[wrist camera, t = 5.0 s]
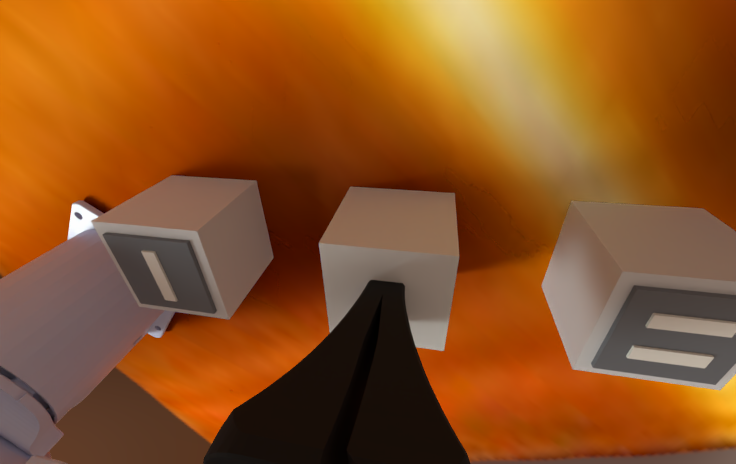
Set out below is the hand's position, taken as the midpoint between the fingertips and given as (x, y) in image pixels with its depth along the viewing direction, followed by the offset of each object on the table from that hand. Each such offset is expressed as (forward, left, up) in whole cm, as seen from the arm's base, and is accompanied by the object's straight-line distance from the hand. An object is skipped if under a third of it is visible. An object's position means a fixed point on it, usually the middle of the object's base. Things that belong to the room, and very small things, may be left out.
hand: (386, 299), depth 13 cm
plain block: (0, 0, -5) cm, 5 cm away
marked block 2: (+6, -8, -5) cm, 11 cm away
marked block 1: (-6, +8, -5) cm, 11 cm away
